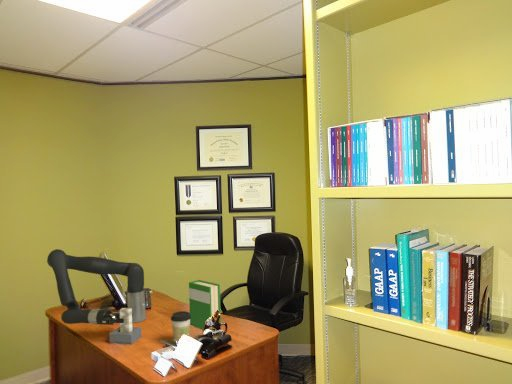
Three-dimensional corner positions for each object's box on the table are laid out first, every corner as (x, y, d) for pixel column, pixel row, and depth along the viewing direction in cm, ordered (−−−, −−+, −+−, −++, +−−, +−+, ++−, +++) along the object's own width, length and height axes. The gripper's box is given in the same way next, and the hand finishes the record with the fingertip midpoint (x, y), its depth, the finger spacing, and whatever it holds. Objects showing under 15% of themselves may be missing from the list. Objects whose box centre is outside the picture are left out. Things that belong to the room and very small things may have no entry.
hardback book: (221, 328, 206) (219, 284, 206) (210, 332, 201) (209, 287, 201) (200, 321, 218) (199, 279, 218) (190, 324, 213) (188, 282, 212)
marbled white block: (120, 339, 192) (119, 309, 192) (123, 336, 195) (122, 308, 195) (129, 339, 191) (128, 310, 191) (132, 337, 194) (131, 308, 194)
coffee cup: (191, 348, 181) (190, 317, 181) (170, 349, 181) (169, 318, 180) (192, 339, 191) (191, 310, 191) (173, 341, 190) (172, 311, 190)
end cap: (109, 343, 190) (109, 333, 190) (120, 335, 200) (120, 326, 200) (131, 344, 187) (131, 334, 187) (141, 336, 197) (141, 327, 197)
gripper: (90, 314, 189) (120, 315, 186) (107, 305, 203) (135, 306, 200) (91, 328, 189) (120, 330, 186) (108, 319, 203) (135, 320, 200)
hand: (128, 317), depth 193 cm, fingers open, 8 cm apart
